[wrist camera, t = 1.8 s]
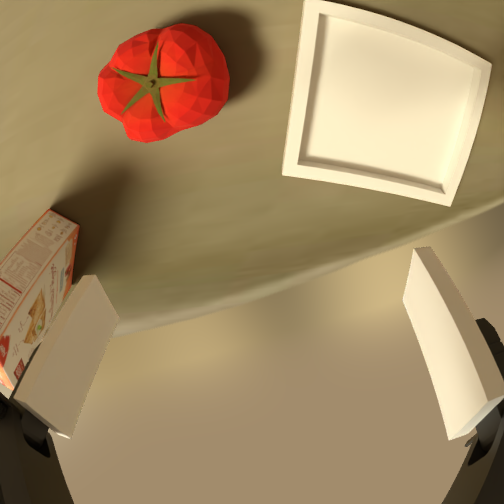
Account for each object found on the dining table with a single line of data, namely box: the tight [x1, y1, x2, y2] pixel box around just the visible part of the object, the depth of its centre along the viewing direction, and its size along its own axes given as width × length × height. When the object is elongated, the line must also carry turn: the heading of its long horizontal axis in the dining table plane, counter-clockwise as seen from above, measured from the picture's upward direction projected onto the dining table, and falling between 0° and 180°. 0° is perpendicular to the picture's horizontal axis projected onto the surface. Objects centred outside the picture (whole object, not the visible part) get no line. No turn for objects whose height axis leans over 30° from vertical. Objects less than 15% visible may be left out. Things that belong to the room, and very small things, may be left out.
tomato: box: [97, 23, 230, 143], centre depth 21 cm, size 10×11×6 cm
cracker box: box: [0, 209, 80, 390], centre depth 30 cm, size 14×6×21 cm, turn 150°
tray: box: [282, 0, 492, 207], centre depth 22 cm, size 16×18×2 cm
